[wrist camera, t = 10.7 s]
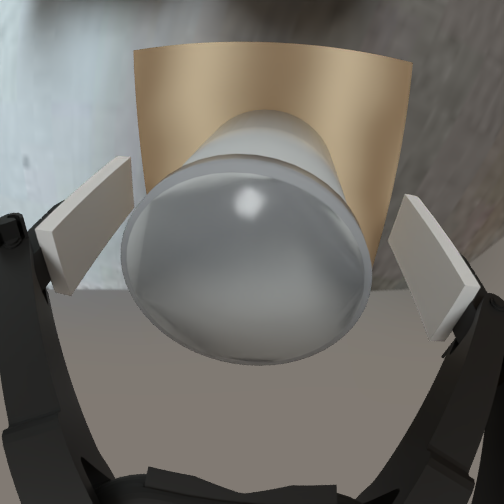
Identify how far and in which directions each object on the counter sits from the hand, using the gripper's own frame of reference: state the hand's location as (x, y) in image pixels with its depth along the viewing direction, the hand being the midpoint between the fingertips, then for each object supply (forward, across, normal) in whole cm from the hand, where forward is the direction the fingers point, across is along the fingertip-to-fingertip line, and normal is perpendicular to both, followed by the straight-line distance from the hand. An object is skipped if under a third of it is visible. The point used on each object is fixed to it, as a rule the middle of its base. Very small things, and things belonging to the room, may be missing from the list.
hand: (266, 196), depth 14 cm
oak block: (+8, 0, 0) cm, 8 cm away
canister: (+2, 0, 0) cm, 3 cm away
